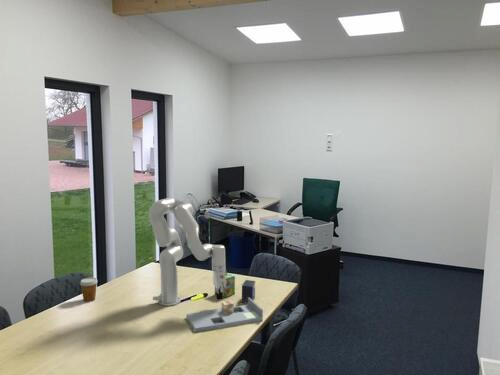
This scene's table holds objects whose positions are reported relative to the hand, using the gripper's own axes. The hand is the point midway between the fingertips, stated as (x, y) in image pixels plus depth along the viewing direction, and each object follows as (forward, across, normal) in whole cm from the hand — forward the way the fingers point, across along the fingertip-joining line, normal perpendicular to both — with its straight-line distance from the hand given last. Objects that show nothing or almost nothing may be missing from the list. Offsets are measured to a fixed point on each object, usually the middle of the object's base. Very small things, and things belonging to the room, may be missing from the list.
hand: (219, 299), depth 223 cm
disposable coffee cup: (+3, +38, +68) cm, 78 cm away
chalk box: (+5, +18, -9) cm, 21 cm away
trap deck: (+5, -16, +3) cm, 16 cm away
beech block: (+3, -12, -1) cm, 12 cm away
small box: (+5, +4, -19) cm, 21 cm away
